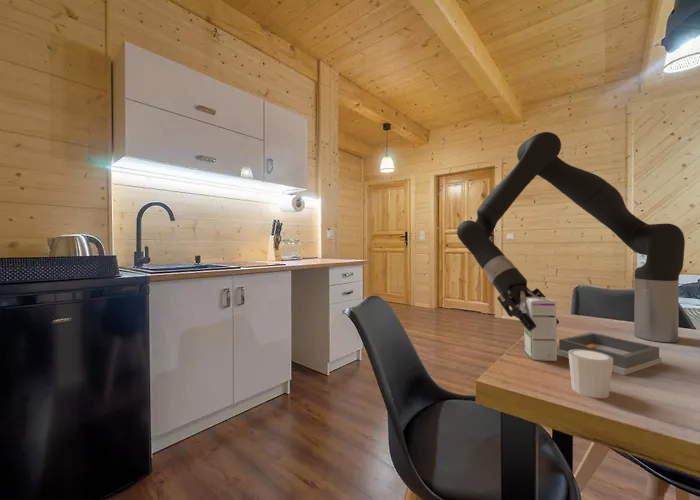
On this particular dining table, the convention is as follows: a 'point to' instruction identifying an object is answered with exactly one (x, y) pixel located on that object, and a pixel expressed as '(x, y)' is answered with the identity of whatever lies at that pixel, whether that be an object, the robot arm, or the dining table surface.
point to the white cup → (590, 372)
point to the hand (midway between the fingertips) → (544, 326)
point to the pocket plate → (614, 351)
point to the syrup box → (541, 329)
